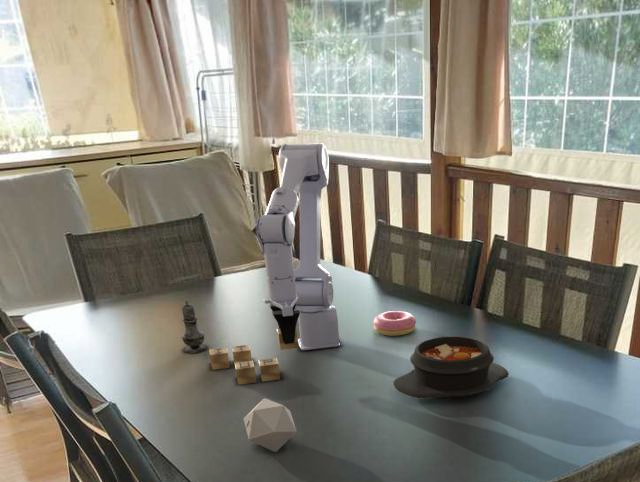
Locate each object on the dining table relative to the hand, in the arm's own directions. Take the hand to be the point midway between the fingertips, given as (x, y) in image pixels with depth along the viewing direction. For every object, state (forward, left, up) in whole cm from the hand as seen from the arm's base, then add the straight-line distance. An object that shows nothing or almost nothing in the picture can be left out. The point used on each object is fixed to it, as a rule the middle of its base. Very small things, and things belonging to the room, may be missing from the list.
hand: (287, 339), depth 150 cm
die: (+8, +34, -8) cm, 36 cm away
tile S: (0, 0, -1) cm, 1 cm away
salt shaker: (+21, -24, -8) cm, 33 cm away
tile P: (+5, +1, -8) cm, 9 cm away
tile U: (+10, +1, -8) cm, 13 cm away
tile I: (+15, -10, -8) cm, 20 cm away
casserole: (-31, +19, -8) cm, 37 cm away
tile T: (+10, -10, -8) cm, 16 cm away
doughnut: (-29, -20, -8) cm, 36 cm away
